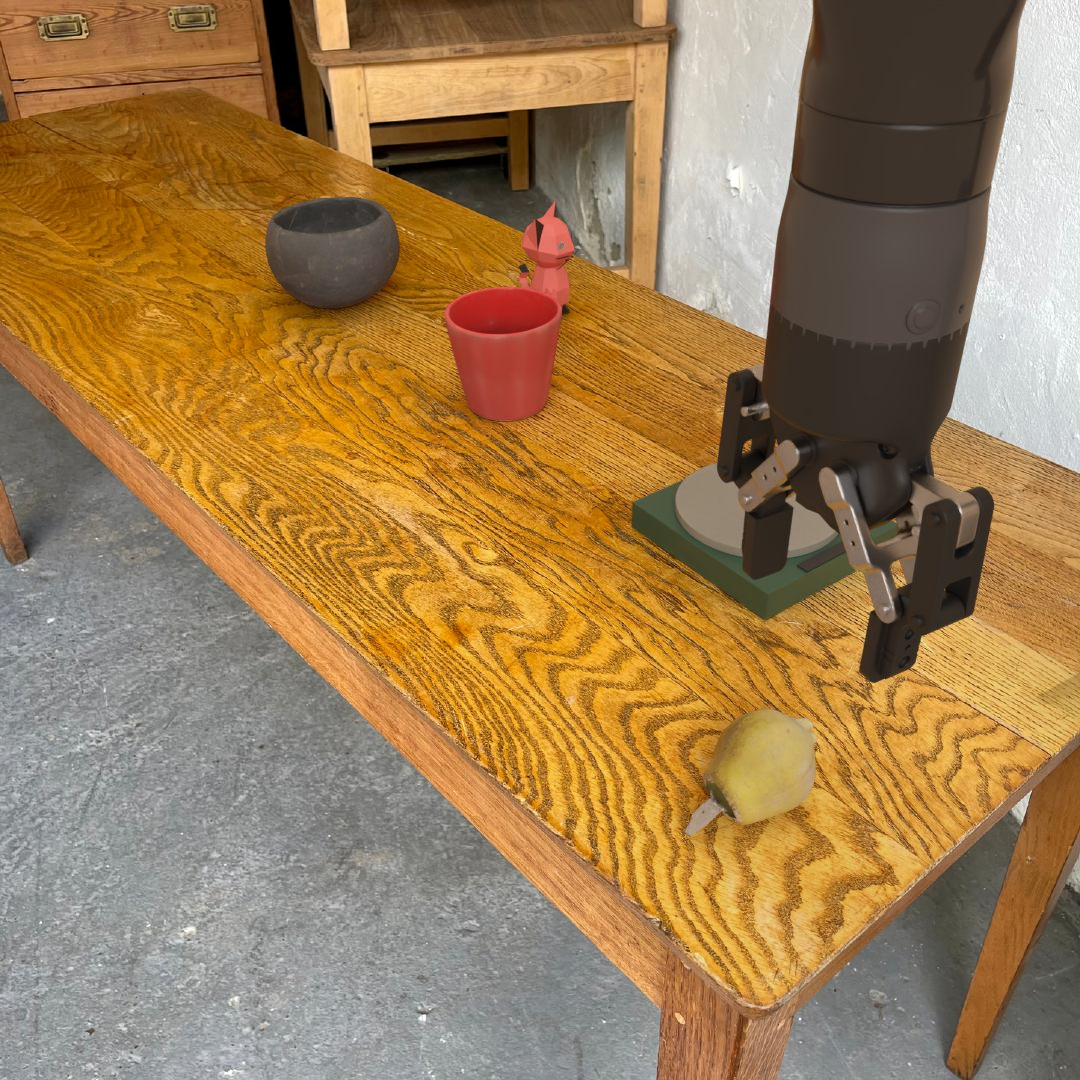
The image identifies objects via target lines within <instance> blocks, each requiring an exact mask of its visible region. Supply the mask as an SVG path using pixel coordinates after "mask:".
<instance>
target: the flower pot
mask: <svg viewBox="0 0 1080 1080" xmlns="http://www.w3.org/2000/svg"><path fill="white" fill-rule="evenodd" d="M562 315H563V314H562V308H561V305H560V303H559V302H558V301H557V300H556V299H555V298H554V297H552V296H550V295H548V294H546V293H543V292H541V291H537V290H533V289H527V288H523V287H516V286H498V287H488V288H482V289H477V290H474V291H473V290H472V291H470V292H467V293H465V294H462V295H460V296H458V297H456V298H455V299H454V300H452V301H451V302H450V303H449V304H448V305H447V306H446V307H445V310H444V322H445V325H446V331H447V333H448V335H447V336H448V338H449V339H448V340H449V342H450V348H451V351H452V355H453V358H454V363H455V366H456V370H457V373H458V377H459V380H460V384H461V387H462V390H463V394H464V397H465V401H466V404H467V407H468V408H469V410H470V411H471V412H472V413H474V414H476V415H477V416H479V417H480V418H483V419H486V420H489V421H495V422H497V421H498V422H513V421H519V420H524V419H527V418H530V417H532V416H535V415H536V414H538V413H540V412H541V411H542V410H543V409H544V408H545V406H546V404H547V402H548V398H549V392H550V387H551V381H552V378H553V371H554V366H555V360H556V354H557V347H558V342H559V336H560V329H561V323H562Z"/></svg>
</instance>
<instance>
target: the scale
mask: <svg viewBox="0 0 1080 1080" xmlns="http://www.w3.org/2000/svg"><path fill="white" fill-rule="evenodd" d="M748 451H750V449H749V450H748ZM738 491H739V489H738V487H737V486H736V485H735V483H734V482H733V481H732V482H729V483H725V482H723V481H722V480H721V479H720V477H719V475H718V472H717V462H715V463H714V462H713V463H711V464H707V465H706V466H702V467H701V468H699V469H697V470H695V471H693V472H692V473H690V474H689V475H688V476H686V477H685V478H684V479H683V478H682V480H679V481H677V482H675V483H672V484H670V485H668V486H665V487H663V488H661V489H659V490H656V491H654V492H651V493H650V494H647V495H645V496H643V497H640V498H638V499H636V500H634V501H632V502H631V504H632V505H631V527H632V528H633V529H635V530H636V531H638V532H639V533H640V534H641V535H643V536H645V537H646V538H647V539H649V540H650V541H652V542H653V543H654V544H656V545H657V546H659V547H660V548H661V549H663V550H664V551H666V552H667V553H669V554H670V555H672V556H673V557H674V558H676V559H677V560H678V561H680V562H681V563H683V565H686V566H687V567H688V568H690V569H691V570H693V571H694V572H696V573H697V574H698V575H700V576H701V577H703V578H704V579H706V580H707V581H709V582H710V583H711V584H713V585H714V586H716V587H717V588H718V589H719V590H721V591H723V592H724V593H726V594H727V595H728V596H729V597H731V598H732V599H734V600H735V601H737V602H738V603H739V604H741V605H742V606H744V607H745V608H746V609H748V610H749V611H751V612H752V613H754V614H755V615H756V616H758V617H760V619H762V620H764V621H767V620H769V619H770V618H773V617H775V616H776V615H778V614H780V613H782V612H783V611H785V610H787V609H789V608H791V607H793V606H794V605H796V604H798V603H800V602H801V601H804V600H806V599H807V598H810V597H811V596H813V595H814V594H817V593H818V592H820V591H822V590H824V589H825V588H828V587H829V586H831V585H833V584H835V583H836V582H839V581H840V580H842V579H844V578H847V577H848V576H850V575H851V574H853V573H855V572H858V571H857V570H855V569H853V568H852V567H851V565H850V563H849V560H848V557H847V553H846V550H845V547H844V544H843V540H842V537H841V535H840V534H839V533H837V532H836V531H835V530H833V529H832V528H831V527H830V526H829V525H828V524H827V523H826V522H825V521H824V519H823V518H822V517H821V516H820V515H819V514H818V513H815V512H813V511H810V510H807V509H806V508H804V507H803V506H802V505H800V504H799V503H798V502H796V501H795V500H796V494H795V495H793V496H792V497H791V498H788V499H786V502H787V503H789V504H790V505H791V506H792V507H794V509H793V517H792V524H791V532H790V539H789V547H788V555H787V562H786V565H785V566H784V568H783V569H782V570H780V571H779V572H776V573H774V574H771V575H768V576H766V577H763V578H760V579H757V580H753V579H752V578H751V577H749V576H748V575H747V574H746V573H745V572H744V571H743V570H742V565H743V555H742V548H741V546H742V539H743V537H742V536H743V532H744V531H743V527H744V517H745V510H744V509H743V508H742V507H741V505H740V503H739V500H738ZM869 532H870V535H871V538H872V541H873V542H874V544H876V545H878V544H880V543H883V542H886V541H888V540H891V539H893V538H895V536H896V535H897V532H898V525H897V522H896V521H893V520H892V521H890V522H889V523H887V524H886V525H884V526H881V527H878V528H876V529H873V530H870V531H869Z"/></svg>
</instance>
